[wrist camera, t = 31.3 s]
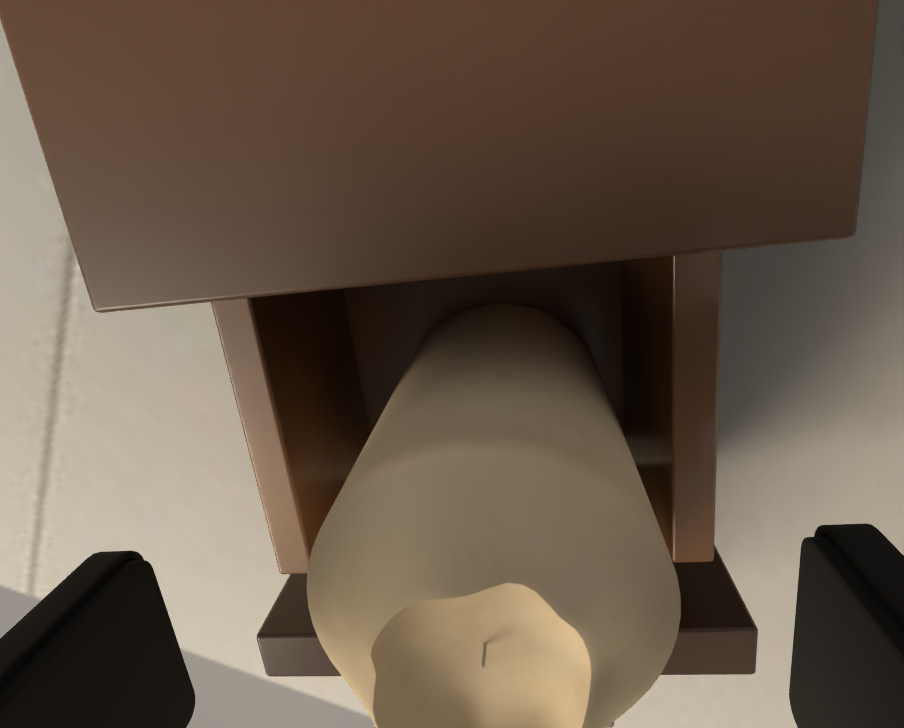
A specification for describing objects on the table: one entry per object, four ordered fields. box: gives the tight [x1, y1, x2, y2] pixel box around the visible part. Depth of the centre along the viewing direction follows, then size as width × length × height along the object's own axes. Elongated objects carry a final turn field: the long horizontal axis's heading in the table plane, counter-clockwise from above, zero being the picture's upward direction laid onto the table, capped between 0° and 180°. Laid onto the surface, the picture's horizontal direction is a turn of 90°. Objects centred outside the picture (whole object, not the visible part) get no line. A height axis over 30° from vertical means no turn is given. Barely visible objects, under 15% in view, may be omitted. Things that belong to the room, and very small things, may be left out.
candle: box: [307, 303, 681, 728], centre depth 12 cm, size 6×6×10 cm
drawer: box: [211, 251, 758, 728], centre depth 14 cm, size 18×11×7 cm, turn 7°
